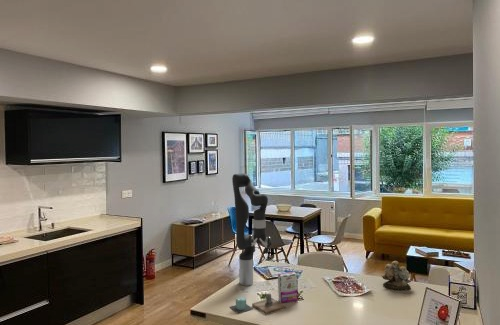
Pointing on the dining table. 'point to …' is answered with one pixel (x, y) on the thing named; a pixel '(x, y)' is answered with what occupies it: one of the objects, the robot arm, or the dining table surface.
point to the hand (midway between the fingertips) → (260, 252)
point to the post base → (268, 305)
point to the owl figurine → (396, 277)
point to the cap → (240, 303)
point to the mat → (241, 310)
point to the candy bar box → (288, 287)
